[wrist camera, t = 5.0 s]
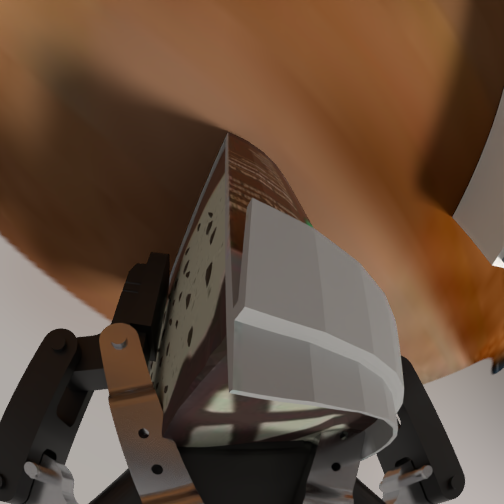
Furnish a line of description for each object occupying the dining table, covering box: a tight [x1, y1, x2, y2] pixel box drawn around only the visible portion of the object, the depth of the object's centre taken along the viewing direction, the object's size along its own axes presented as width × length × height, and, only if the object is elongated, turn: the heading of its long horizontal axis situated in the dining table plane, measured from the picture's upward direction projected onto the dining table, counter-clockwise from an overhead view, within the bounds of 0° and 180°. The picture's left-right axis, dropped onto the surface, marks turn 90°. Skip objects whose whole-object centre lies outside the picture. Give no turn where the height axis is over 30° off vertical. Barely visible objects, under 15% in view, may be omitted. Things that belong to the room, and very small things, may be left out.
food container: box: [148, 132, 404, 461], centre depth 10 cm, size 12×6×10 cm, turn 155°
